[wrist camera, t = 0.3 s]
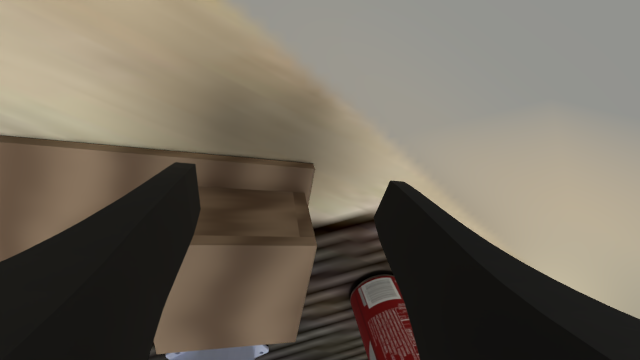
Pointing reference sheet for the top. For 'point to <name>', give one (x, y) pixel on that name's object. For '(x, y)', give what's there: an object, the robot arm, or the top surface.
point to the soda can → (383, 319)
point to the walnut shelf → (208, 240)
